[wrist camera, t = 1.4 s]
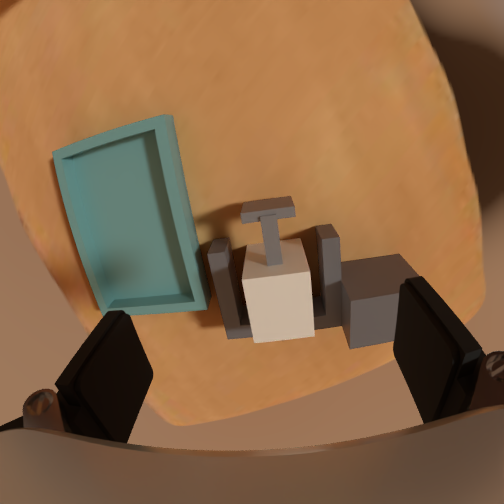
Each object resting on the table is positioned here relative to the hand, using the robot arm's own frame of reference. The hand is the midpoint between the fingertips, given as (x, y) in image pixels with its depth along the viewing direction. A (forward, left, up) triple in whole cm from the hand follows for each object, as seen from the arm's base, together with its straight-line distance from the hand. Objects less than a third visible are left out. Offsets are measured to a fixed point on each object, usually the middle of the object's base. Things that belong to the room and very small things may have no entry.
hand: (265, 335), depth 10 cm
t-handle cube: (+5, 0, -19) cm, 20 cm away
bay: (+7, +4, -19) cm, 21 cm away
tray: (0, -13, -19) cm, 23 cm away
